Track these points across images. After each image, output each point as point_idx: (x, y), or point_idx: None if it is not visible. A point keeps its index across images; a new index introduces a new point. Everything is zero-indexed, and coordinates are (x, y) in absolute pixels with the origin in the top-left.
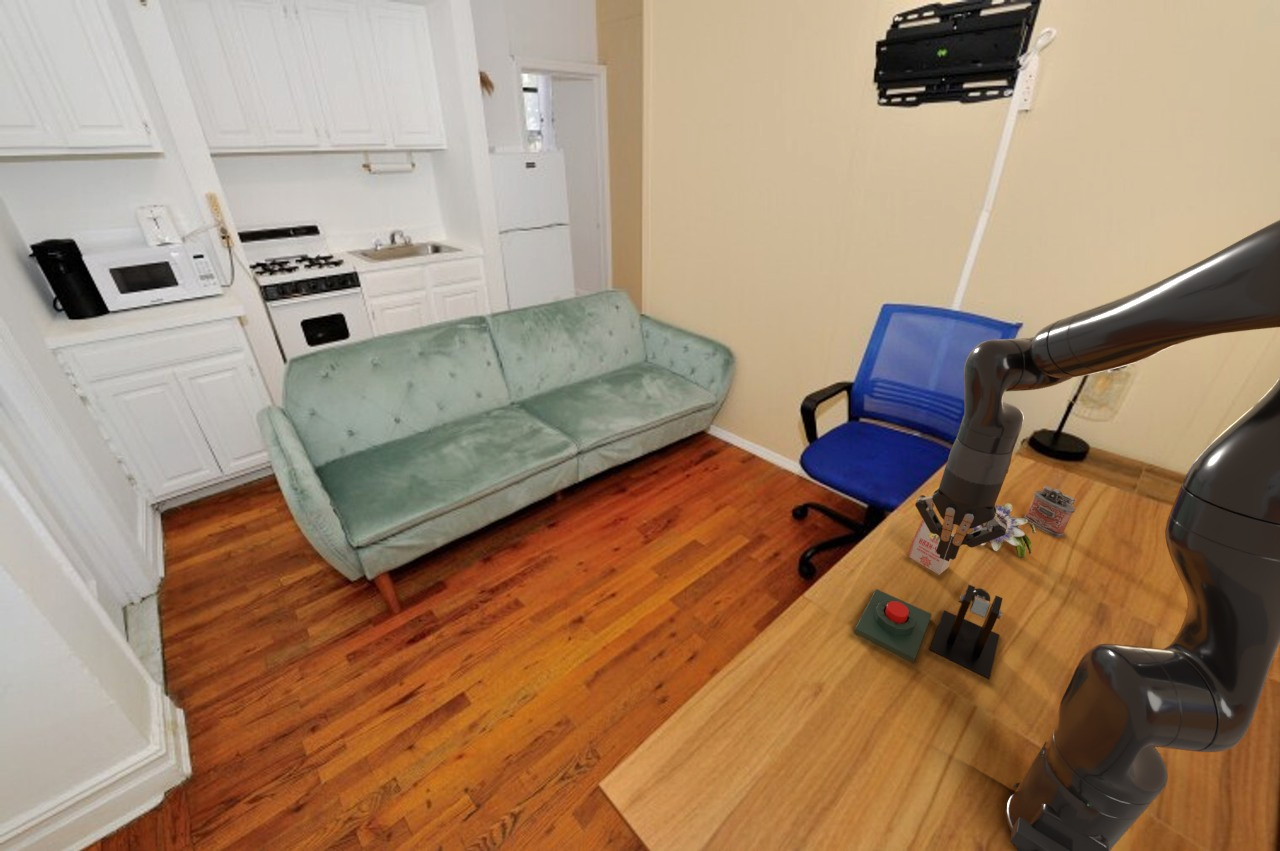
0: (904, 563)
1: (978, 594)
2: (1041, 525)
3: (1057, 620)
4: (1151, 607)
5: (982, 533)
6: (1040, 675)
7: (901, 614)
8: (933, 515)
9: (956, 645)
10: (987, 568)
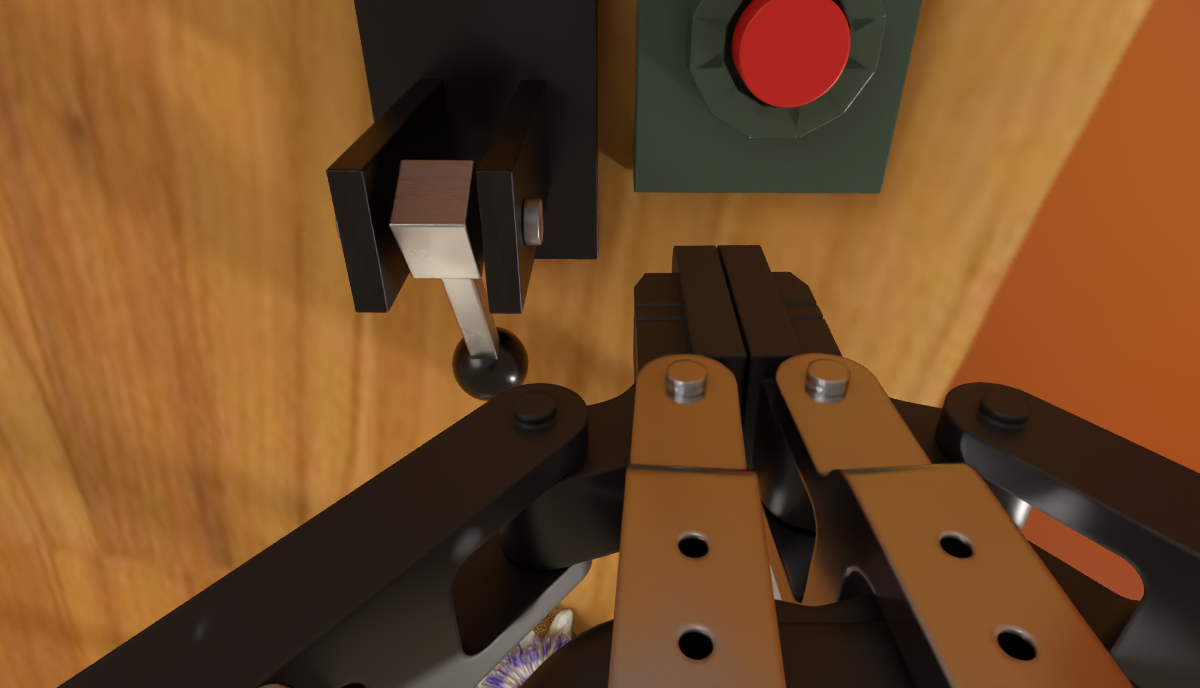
0: None
1: (494, 360)
2: None
3: (289, 440)
4: (136, 609)
5: (416, 610)
6: (238, 163)
7: (771, 19)
8: (1124, 639)
9: (508, 89)
10: None
